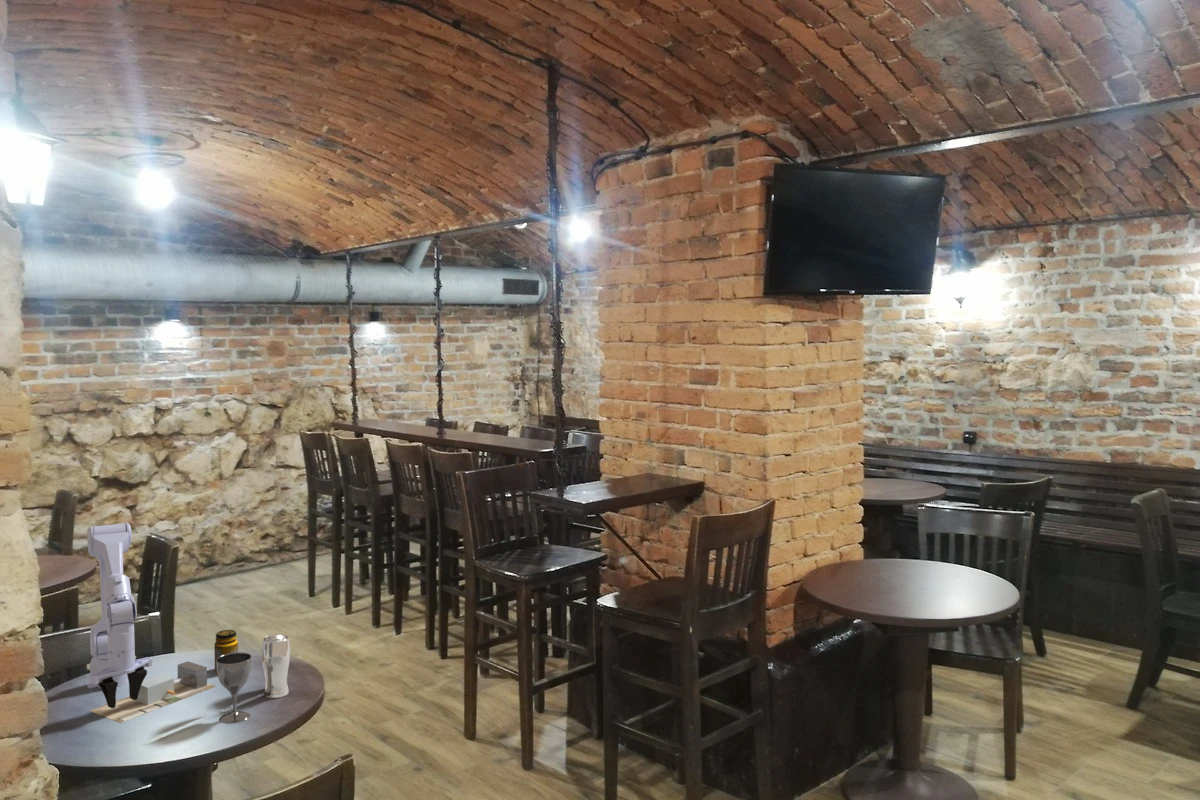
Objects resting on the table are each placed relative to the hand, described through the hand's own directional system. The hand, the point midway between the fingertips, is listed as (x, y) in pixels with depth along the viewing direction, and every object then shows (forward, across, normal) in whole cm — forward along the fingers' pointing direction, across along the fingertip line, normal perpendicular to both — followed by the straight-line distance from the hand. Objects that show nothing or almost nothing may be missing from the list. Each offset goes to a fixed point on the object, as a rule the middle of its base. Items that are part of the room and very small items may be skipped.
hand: (122, 702), depth 215 cm
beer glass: (+3, +28, -22) cm, 36 cm away
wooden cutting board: (+3, +8, 0) cm, 9 cm away
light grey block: (+2, +10, -1) cm, 11 cm away
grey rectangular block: (+2, +19, 0) cm, 19 cm away
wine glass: (+3, +14, -24) cm, 28 cm away
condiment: (+3, +30, +2) cm, 30 cm away
